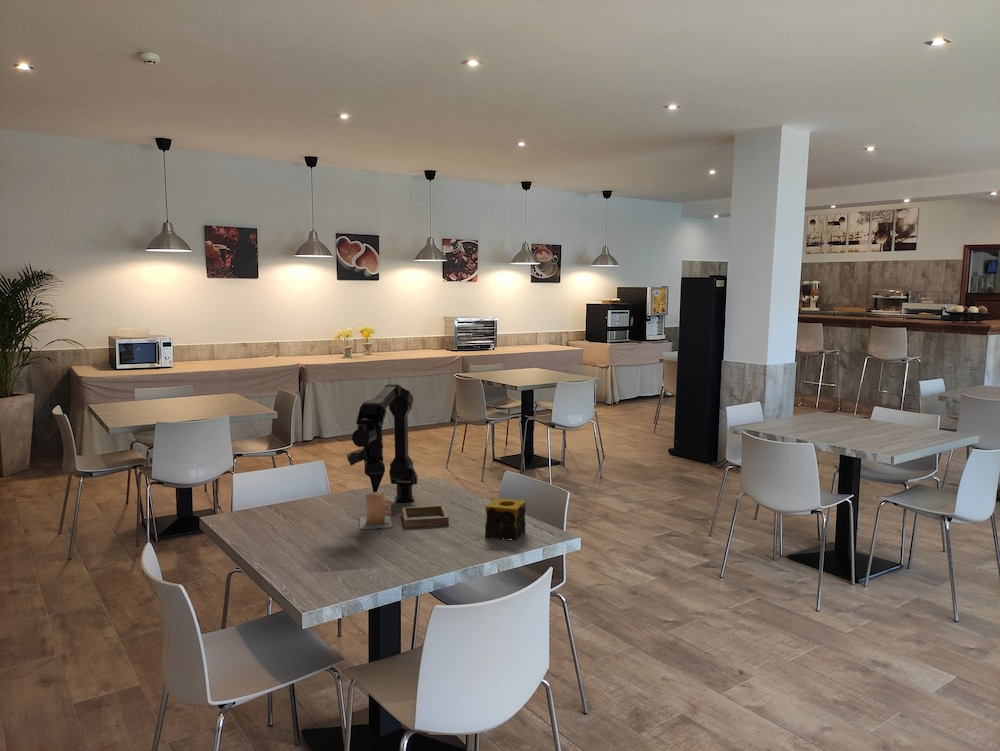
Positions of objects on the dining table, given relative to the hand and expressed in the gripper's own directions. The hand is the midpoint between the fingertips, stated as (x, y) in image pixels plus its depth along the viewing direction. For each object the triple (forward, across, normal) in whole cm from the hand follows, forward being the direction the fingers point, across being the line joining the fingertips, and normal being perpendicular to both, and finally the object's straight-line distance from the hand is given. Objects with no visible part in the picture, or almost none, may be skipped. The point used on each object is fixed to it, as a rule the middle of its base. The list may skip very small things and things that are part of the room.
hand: (374, 488), depth 233 cm
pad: (+12, 0, 0) cm, 12 cm away
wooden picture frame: (+12, 0, +16) cm, 20 cm away
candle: (+12, +20, +39) cm, 45 cm away
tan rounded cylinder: (+11, 0, 0) cm, 11 cm away
